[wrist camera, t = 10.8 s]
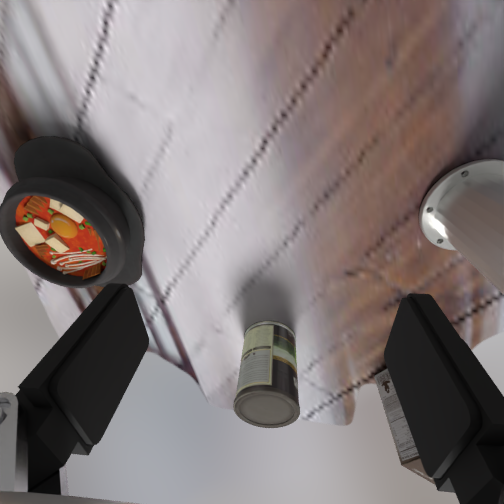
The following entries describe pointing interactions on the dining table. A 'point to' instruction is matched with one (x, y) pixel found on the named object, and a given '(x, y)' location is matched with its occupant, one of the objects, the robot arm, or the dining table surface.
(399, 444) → the coffee box
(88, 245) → the casserole
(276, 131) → the dining table surface
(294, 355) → the coffee can
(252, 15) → the dining table surface
